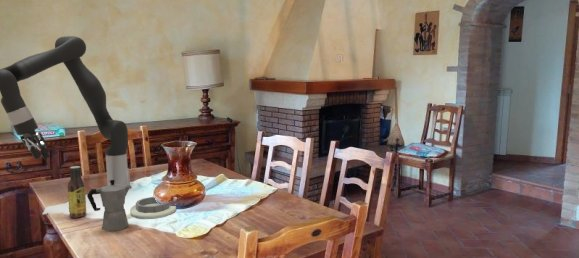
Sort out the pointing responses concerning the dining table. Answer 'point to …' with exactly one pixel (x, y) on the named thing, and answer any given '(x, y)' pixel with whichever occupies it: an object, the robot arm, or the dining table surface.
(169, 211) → the ring tray
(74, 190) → the sauce bottle
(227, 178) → the dining table surface
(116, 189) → the coffeepot
